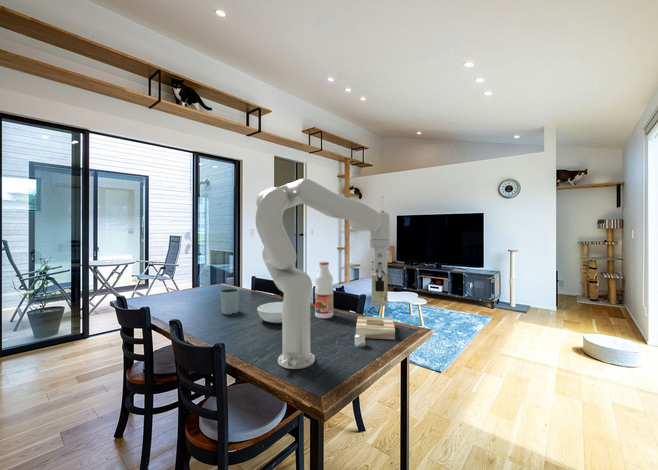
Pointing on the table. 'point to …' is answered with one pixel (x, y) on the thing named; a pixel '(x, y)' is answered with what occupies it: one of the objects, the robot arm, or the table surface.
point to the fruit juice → (324, 292)
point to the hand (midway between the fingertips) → (379, 288)
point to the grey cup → (229, 300)
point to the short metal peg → (359, 340)
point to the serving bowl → (271, 312)
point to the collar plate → (376, 327)
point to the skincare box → (379, 292)
